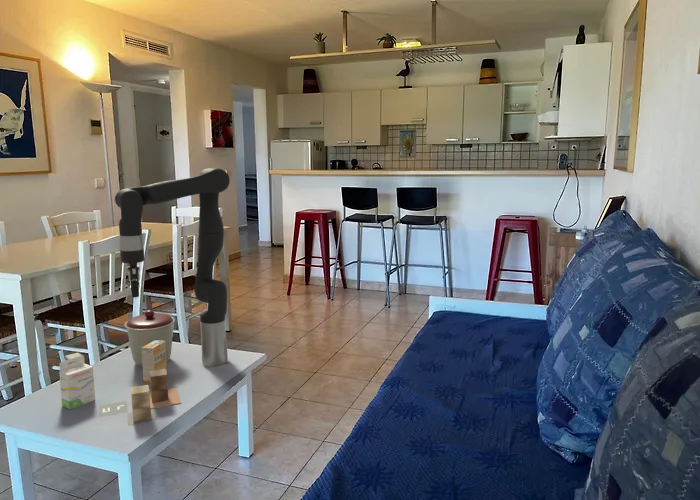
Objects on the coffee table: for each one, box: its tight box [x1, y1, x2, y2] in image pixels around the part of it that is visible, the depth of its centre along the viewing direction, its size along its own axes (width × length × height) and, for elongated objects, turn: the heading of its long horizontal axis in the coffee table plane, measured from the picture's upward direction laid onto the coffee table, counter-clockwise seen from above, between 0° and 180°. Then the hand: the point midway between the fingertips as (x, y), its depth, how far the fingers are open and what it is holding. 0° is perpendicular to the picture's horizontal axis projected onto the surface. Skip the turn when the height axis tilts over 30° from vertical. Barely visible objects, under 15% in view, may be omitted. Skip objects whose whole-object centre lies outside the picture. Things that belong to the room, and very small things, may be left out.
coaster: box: [149, 387, 182, 409], centre depth 166 cm, size 12×12×1 cm
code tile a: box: [98, 400, 128, 418], centre depth 159 cm, size 8×8×1 cm
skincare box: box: [64, 352, 86, 365], centre depth 171 cm, size 6×4×12 cm
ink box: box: [58, 354, 96, 410], centre depth 162 cm, size 9×5×15 cm, turn 148°
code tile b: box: [126, 408, 158, 426], centre depth 154 cm, size 8×8×1 cm
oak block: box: [130, 384, 151, 422], centre depth 154 cm, size 5×5×9 cm
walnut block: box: [150, 369, 169, 403], centre depth 165 cm, size 5×5×9 cm
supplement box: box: [141, 340, 168, 383], centre depth 181 cm, size 8×5×13 cm, turn 168°
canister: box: [124, 309, 176, 367], centre depth 194 cm, size 18×18×21 cm
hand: (135, 293), depth 174 cm, fingers open, 8 cm apart
